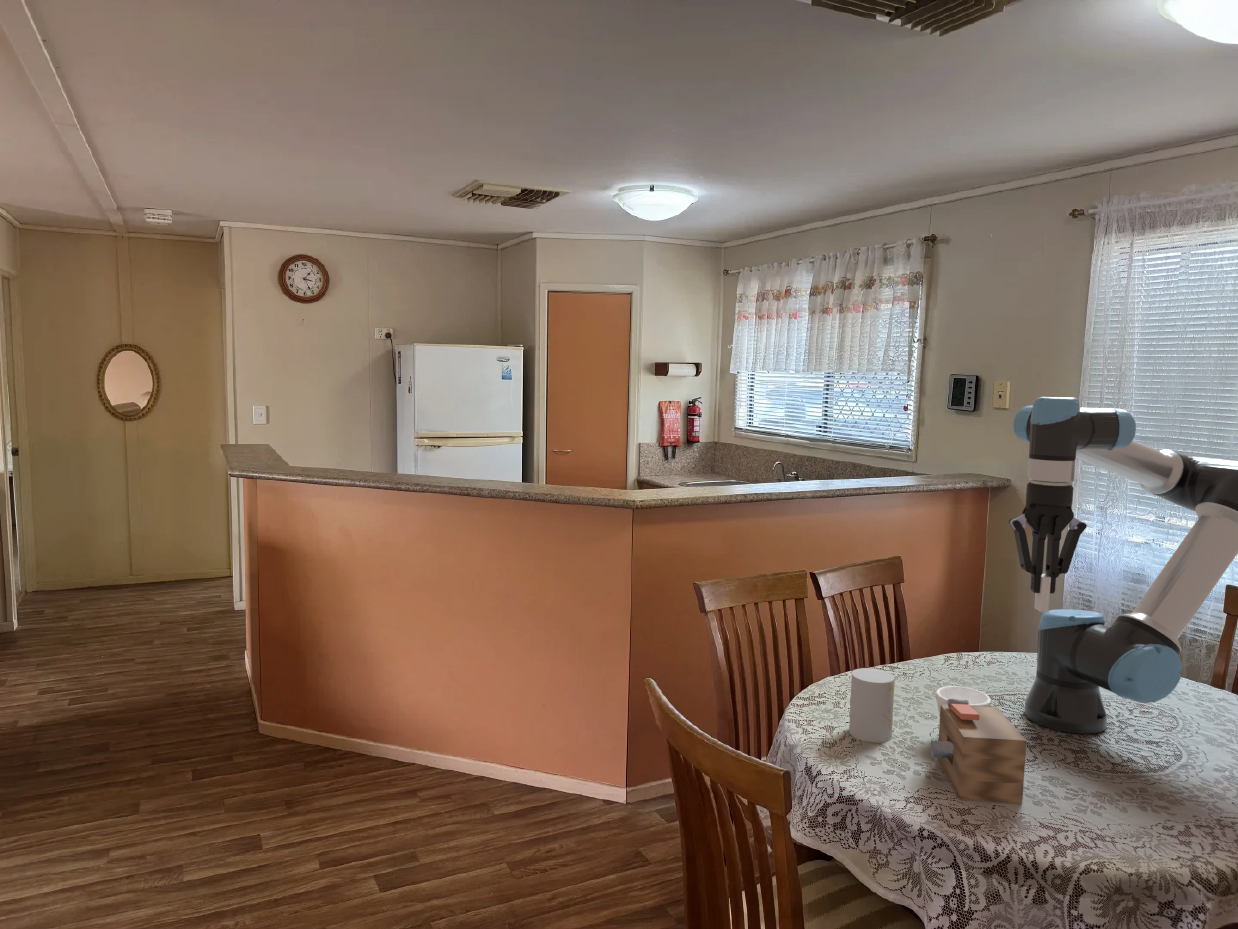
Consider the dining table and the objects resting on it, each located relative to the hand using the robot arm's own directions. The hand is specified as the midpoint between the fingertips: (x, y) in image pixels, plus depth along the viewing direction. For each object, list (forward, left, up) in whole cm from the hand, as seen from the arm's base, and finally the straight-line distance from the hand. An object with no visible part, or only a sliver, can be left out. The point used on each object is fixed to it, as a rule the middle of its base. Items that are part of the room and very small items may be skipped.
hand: (1041, 610), depth 153 cm
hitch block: (+13, +11, -28) cm, 33 cm away
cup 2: (+11, -6, -29) cm, 31 cm away
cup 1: (+28, -7, -29) cm, 41 cm away
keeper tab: (+15, +9, -17) cm, 25 cm away
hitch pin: (+14, +11, -26) cm, 31 cm away
